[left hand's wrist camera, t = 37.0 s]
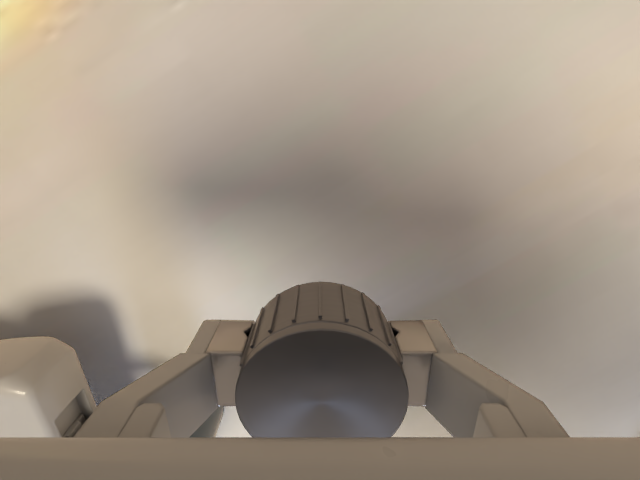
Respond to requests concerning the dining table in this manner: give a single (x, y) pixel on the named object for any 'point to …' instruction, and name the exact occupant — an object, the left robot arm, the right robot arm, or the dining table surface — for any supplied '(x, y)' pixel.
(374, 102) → the dining table surface
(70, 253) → the dining table surface
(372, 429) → the cap
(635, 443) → the left robot arm
